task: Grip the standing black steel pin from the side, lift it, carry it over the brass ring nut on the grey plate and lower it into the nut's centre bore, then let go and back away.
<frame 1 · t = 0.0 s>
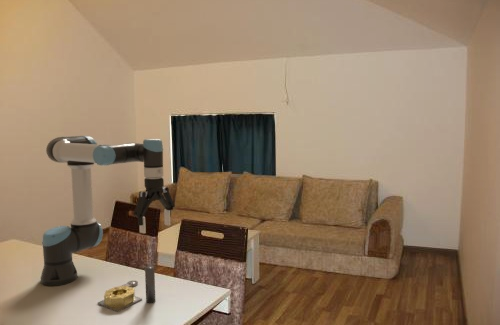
hand: (155, 228, 164), 28 cm above the table, tool pointing down, fingers open, 13 cm apart
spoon: (121, 290, 172), on the table
steel pin: (150, 301, 161), on the table
ring nut: (120, 301, 160), on the table
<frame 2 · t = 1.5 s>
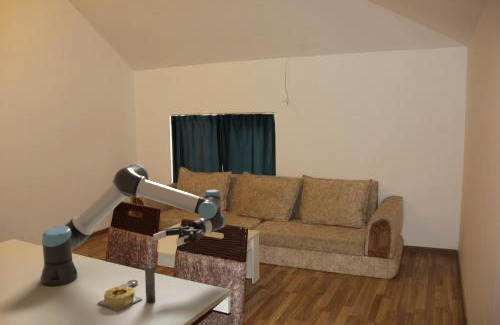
hand: (165, 240, 165), 23 cm above the table, tool horizontal, fingers open, 13 cm apart
nothing on the table moved.
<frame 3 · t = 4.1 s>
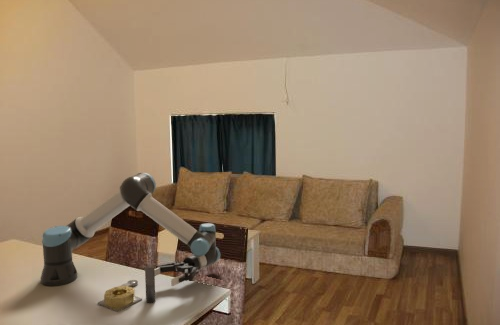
hand: (159, 279, 163), 8 cm above the table, tool horizontal, fingers open, 13 cm apart
nothing on the table moved.
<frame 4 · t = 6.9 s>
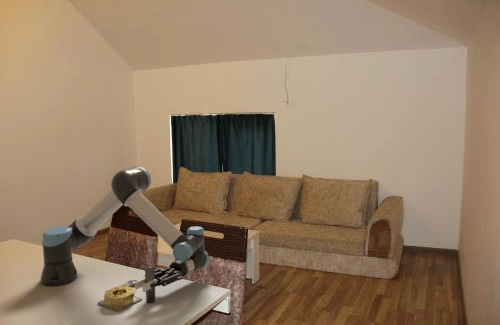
hand: (139, 287, 155), 8 cm above the table, tool horizontal, fingers closed on steel pin, 4 cm apart
steel pin: (150, 301, 161), on the table, touching gripper
everything else where it was.
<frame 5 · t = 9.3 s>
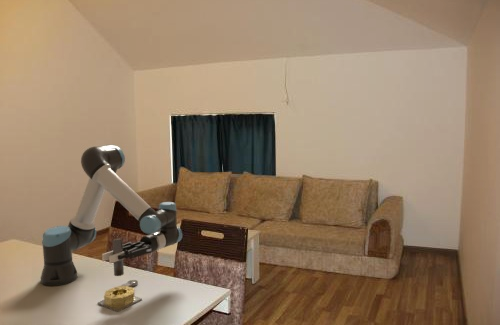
hand: (106, 258, 154), 19 cm above the table, tool horizontal, fingers closed on steel pin, 4 cm apart
steel pin: (119, 274, 159), point 11 cm above the table, touching gripper
everything else where it was.
when the fingers open (11 cm above the table, at t = 11.7 s): steel pin drops 2 cm, resting on ring nut.
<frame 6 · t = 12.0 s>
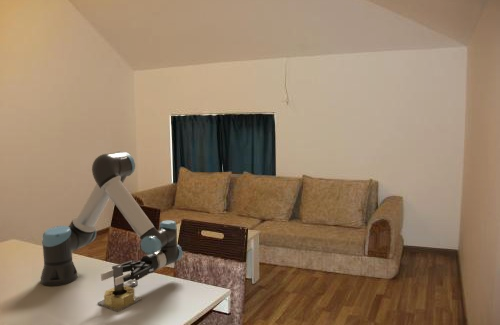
hand: (108, 279, 155), 11 cm above the table, tool horizontal, fingers open, 8 cm apart
steel pin: (120, 300, 160), point 1 cm above the table, touching ring nut
everything else where it was.
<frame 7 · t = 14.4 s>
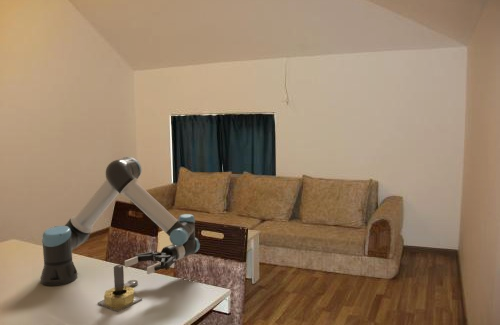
hand: (136, 267, 166), 11 cm above the table, tool horizontal, fingers open, 13 cm apart
nothing on the table moved.
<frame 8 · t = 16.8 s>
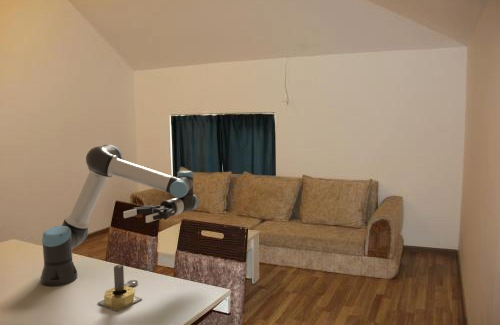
hand: (134, 217, 167), 32 cm above the table, tool horizontal, fingers open, 13 cm apart
nothing on the table moved.
at the end: steel pin 0.0 cm off-centre on the ring nut, point 0.6 cm above the ring nut's base; steel pin tilted 0°; the gripper is holding nothing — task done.
